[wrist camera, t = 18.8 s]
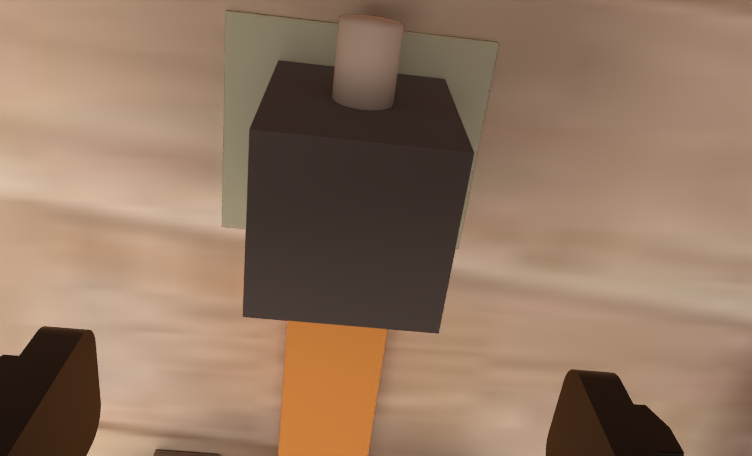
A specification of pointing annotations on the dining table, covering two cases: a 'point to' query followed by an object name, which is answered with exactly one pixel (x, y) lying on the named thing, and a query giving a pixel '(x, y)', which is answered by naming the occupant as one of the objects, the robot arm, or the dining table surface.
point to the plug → (350, 225)
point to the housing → (180, 453)
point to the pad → (318, 46)
